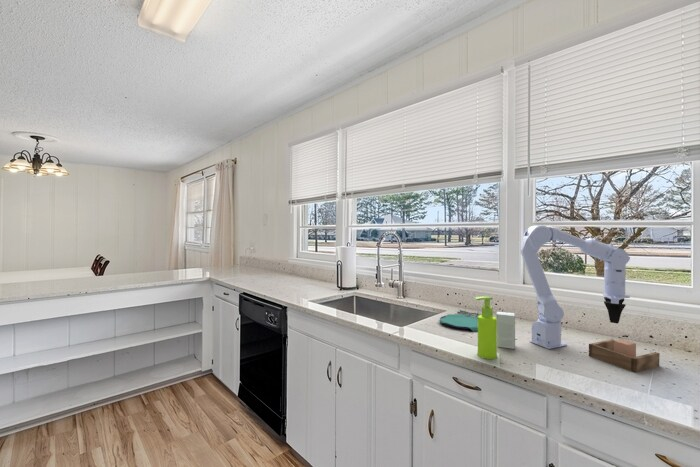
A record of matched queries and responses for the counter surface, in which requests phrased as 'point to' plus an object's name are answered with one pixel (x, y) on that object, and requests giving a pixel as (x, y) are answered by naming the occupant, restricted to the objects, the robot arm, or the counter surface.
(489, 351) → the soap dispenser
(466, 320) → the teal flat rounded piece
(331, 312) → the counter surface
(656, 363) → the open-sided box
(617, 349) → the terracotta block
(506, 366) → the counter surface
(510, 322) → the skincare box
